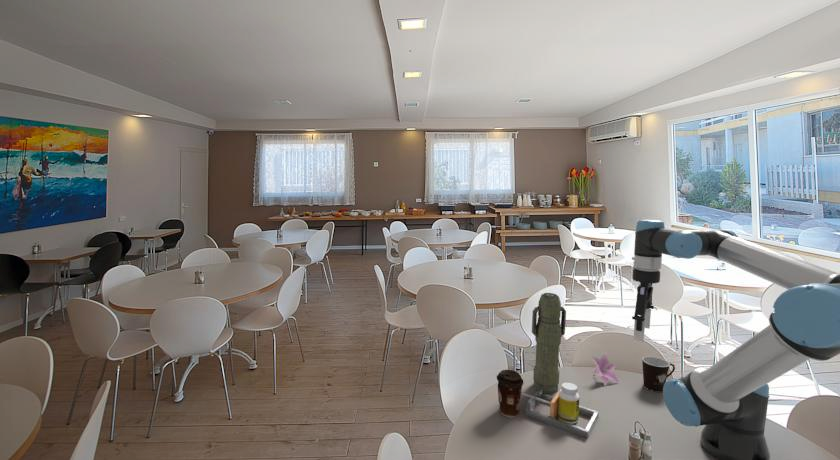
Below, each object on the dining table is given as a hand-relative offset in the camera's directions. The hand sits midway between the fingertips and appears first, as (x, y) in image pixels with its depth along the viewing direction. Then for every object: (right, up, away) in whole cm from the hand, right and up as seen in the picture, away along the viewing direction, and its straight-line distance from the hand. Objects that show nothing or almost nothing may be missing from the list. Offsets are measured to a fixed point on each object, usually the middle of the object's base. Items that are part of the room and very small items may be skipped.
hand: (641, 333), depth 125 cm
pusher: (-32, -26, +5) cm, 41 cm away
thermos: (-25, -25, +18) cm, 40 cm away
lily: (-1, -24, +23) cm, 34 cm away
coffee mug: (+16, -25, +18) cm, 35 cm away
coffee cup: (-42, -26, +2) cm, 50 cm away
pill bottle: (-24, -27, -1) cm, 36 cm away
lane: (-26, -27, 0) cm, 37 cm away
